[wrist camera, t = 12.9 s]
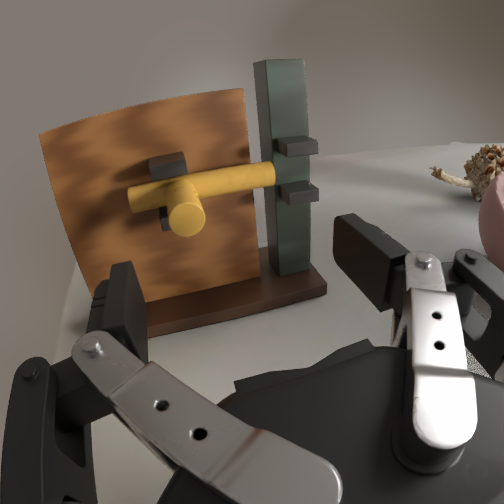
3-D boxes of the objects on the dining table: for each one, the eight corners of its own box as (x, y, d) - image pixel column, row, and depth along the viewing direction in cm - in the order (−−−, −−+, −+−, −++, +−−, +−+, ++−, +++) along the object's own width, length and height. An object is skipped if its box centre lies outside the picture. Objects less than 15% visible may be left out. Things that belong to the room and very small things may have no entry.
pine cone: (491, 187, 47) (498, 139, 42) (526, 207, 39) (535, 155, 34) (413, 196, 45) (418, 134, 39) (453, 222, 36) (463, 152, 31)
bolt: (128, 250, 16) (118, 217, 15) (134, 209, 21) (128, 183, 20) (302, 213, 18) (301, 181, 17) (268, 182, 23) (266, 157, 22)
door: (100, 347, 23) (15, 112, 13) (107, 291, 30) (53, 104, 20) (326, 294, 27) (327, 57, 17) (292, 250, 34) (283, 62, 24)
